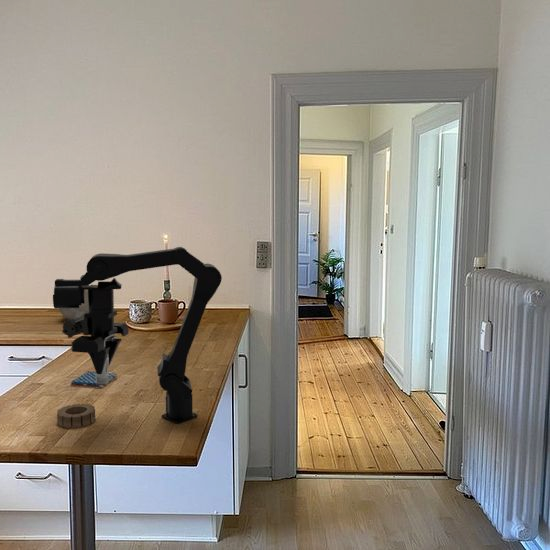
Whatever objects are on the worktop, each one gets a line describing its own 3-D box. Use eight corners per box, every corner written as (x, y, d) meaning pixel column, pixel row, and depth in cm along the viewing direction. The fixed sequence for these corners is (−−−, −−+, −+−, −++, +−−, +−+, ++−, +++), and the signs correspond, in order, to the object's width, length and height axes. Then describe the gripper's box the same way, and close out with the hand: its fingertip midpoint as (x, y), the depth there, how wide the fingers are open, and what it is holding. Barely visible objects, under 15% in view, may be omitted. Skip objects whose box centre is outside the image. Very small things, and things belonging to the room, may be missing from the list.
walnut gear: (102, 419, 136) (101, 409, 135) (69, 430, 129) (69, 420, 129) (82, 411, 141) (82, 401, 141) (50, 421, 135) (50, 410, 134)
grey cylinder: (111, 381, 133) (111, 349, 132) (100, 385, 131) (100, 352, 130) (104, 379, 135) (103, 347, 134) (93, 382, 132) (92, 349, 131)
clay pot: (55, 326, 231) (54, 291, 229) (62, 316, 251) (61, 283, 249) (108, 324, 236) (107, 289, 234) (111, 314, 256) (110, 282, 254)
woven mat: (119, 379, 168) (119, 372, 168) (102, 390, 158) (102, 384, 157) (87, 376, 170) (87, 370, 169) (68, 388, 159) (68, 381, 159)
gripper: (86, 299, 140) (88, 358, 143) (47, 313, 122) (50, 382, 124) (128, 301, 139) (129, 361, 141) (96, 316, 121) (97, 385, 123)
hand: (102, 371), depth 132 cm, fingers closed on grey cylinder, 3 cm apart
